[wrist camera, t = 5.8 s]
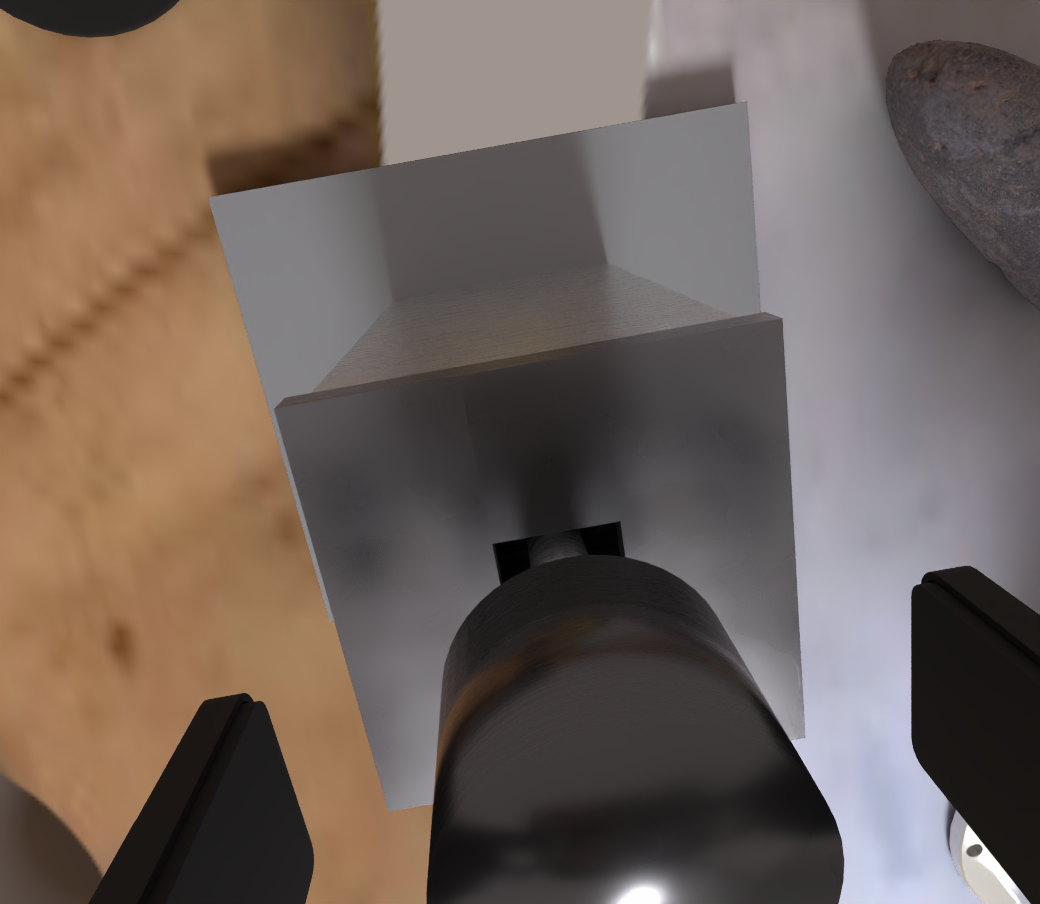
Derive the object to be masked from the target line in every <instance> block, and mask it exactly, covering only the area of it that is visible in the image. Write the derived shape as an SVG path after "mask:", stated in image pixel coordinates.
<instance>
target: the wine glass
mask: <svg viewBox="0 0 1040 904" xmlns="http://www.w3.org/2000/svg"><path fill="white" fill-rule="evenodd" d="M178 1H179V0H0V9H2V10H4V11H5V12H7V13H9V14H10V15H12V16H13V17H16V18H18V19H20V20H23V21H25V22H27V23H30V24H32V25H34V26H37V27H39V28H41V29H45V30H48V31H52V32H56V33H60V34H63V35H70V36H80V37H102V36H114V35H117V34H121V33H125V32H129V31H132V30H135V29H138V28H140V27H142V26H144V25H146V24H148V23H151V22H153V21H155V20H156V19H157V18H159V17H160V16H162V15H163V14H164V13H166V12H167V11H168V10H170V9H171V8H172V7H173V6H174V5H175V4H176V3H177V2H178Z"/></svg>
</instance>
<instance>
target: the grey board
mask: <svg viewBox="0 0 1040 904" xmlns="http://www.w3.org/2000/svg"><path fill="white" fill-rule="evenodd" d="M208 199H209V203H210V206H211V210H212V213H213V217H214V220H215V224H216V227H217V231H218V234H219V238H220V241H221V244H222V248H223V251H224V255H225V258H226V262H227V265H228V269H229V272H230V276H231V279H232V283H233V286H234V290H235V293H236V297H237V300H238V304H239V307H240V311H241V314H242V318H243V321H244V325H245V328H246V331H247V335H248V338H249V342H250V345H251V349H252V352H253V356H254V359H255V363H256V366H257V370H258V373H259V377H260V380H261V384H262V387H263V391H264V394H265V398H266V401H267V405H268V408H269V411H270V415H271V418H272V422H273V425H274V429H275V432H276V436H277V439H278V443H279V446H280V450H281V453H282V457H283V460H284V464H285V467H286V471H287V474H288V478H289V481H290V485H291V488H292V492H293V495H294V498H295V502H296V505H297V509H298V512H299V516H300V519H301V523H302V526H303V530H304V533H305V537H306V540H307V544H308V547H309V551H310V554H311V558H312V561H313V565H314V568H315V572H316V575H317V579H318V582H319V585H320V589H321V592H322V596H323V599H324V603H325V606H326V610H327V613H328V617H329V620H330V622H332V621H334V618H333V615H332V611H331V608H330V604H329V601H328V597H327V594H326V590H325V587H324V583H323V580H322V576H321V573H320V569H319V566H318V562H317V559H316V555H315V552H314V548H313V545H312V541H311V538H310V534H309V531H308V527H307V524H306V520H305V517H304V513H303V510H302V506H301V503H300V499H299V496H298V492H297V489H296V485H295V482H294V478H293V475H292V471H291V468H290V464H289V461H288V457H287V454H286V450H285V447H284V443H283V440H282V436H281V433H280V429H279V426H278V422H277V419H276V415H275V412H274V408H275V407H276V406H277V405H278V404H279V403H280V402H281V401H282V400H283V399H284V398H285V397H291V396H297V395H302V394H308V393H311V392H312V391H313V390H314V389H315V388H316V387H317V385H318V384H319V383H320V382H321V381H322V380H323V379H324V378H325V377H326V375H327V374H328V373H329V372H330V371H331V370H332V369H333V368H334V366H335V365H336V364H337V363H338V362H339V361H340V360H341V359H342V358H343V356H344V355H345V354H346V353H347V352H348V351H349V350H350V349H351V347H352V346H353V345H354V344H355V343H356V342H357V341H358V340H359V339H360V337H361V336H362V335H363V334H364V333H365V332H366V331H367V330H368V328H369V327H370V326H371V325H372V324H373V323H374V322H375V321H376V320H377V318H378V317H379V316H380V315H381V314H382V313H383V312H384V311H385V309H386V308H387V307H388V306H389V305H390V304H391V303H392V302H393V301H395V300H400V299H406V298H412V297H417V296H423V295H429V294H434V293H440V292H445V291H451V290H457V289H462V288H468V287H473V286H479V285H485V284H490V283H496V282H502V281H507V280H513V279H518V278H524V277H530V276H535V275H541V274H546V273H552V272H558V271H563V270H569V269H575V268H580V267H586V266H591V265H597V264H603V263H610V264H612V265H615V266H617V267H619V268H622V269H624V270H626V271H629V272H631V273H633V274H636V275H638V276H640V277H643V278H645V279H648V280H650V281H652V282H655V283H657V284H659V285H662V286H664V287H666V288H669V289H671V290H673V291H676V292H678V293H681V294H683V295H685V296H688V297H690V298H692V299H695V300H697V301H699V302H702V303H704V304H707V305H709V306H711V307H714V308H716V309H718V310H721V311H723V312H725V313H728V314H730V315H732V316H735V317H740V316H746V315H752V314H757V313H761V310H760V294H759V278H758V263H757V247H756V231H755V216H754V200H753V185H752V169H751V153H750V138H749V122H748V106H747V101H746V102H741V103H735V104H730V105H724V106H718V107H713V108H707V109H702V110H696V111H690V112H685V113H679V114H673V115H668V116H662V117H657V118H651V119H645V120H640V121H634V122H629V123H623V124H617V125H612V126H607V127H600V128H596V129H590V130H584V131H578V132H573V133H567V134H562V135H556V136H551V137H545V138H539V139H534V140H528V141H522V142H516V143H511V144H505V145H499V146H494V147H488V148H483V149H477V150H472V151H466V152H460V153H455V154H449V155H444V156H438V157H432V158H427V159H421V160H415V161H410V162H404V163H398V164H393V165H387V166H382V167H376V168H370V169H365V170H359V171H354V172H348V173H342V174H337V175H331V176H326V177H320V178H314V179H309V180H303V181H297V182H292V183H286V184H281V185H275V186H269V187H264V188H258V189H253V190H247V191H241V192H236V193H230V194H224V195H219V196H213V197H208Z"/></svg>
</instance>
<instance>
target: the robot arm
mask: <svg viewBox="0 0 1040 904" xmlns="http://www.w3.org/2000/svg"><path fill="white" fill-rule="evenodd" d="M911 737H912V745H913V749H914V752H915V754H916V757H917V759H918V761H919V763H920V764H921V766H922V767H923V769H924V770H925V771H926V773H927V774H928V775H929V776H930V778H931V779H932V780H933V781H934V783H935V784H936V785H937V786H938V788H939V789H940V790H941V791H942V793H943V794H944V795H945V796H946V798H947V799H948V800H949V801H950V803H951V804H952V805H953V807H954V808H955V809H956V811H955V814H954V818H953V821H952V824H951V830H950V842H949V845H950V851H951V856H952V861H953V863H954V865H955V867H956V869H957V872H958V874H959V875H960V877H961V878H962V879H963V881H964V882H965V883H966V885H967V886H968V887H969V889H970V890H971V892H972V893H973V894H974V895H975V896H976V897H977V898H978V899H979V900H980V901H982V902H983V903H984V904H1040V615H1039V614H1037V613H1036V612H1035V611H1033V610H1032V609H1031V608H1029V607H1028V606H1026V605H1025V604H1024V603H1022V602H1021V601H1019V600H1018V599H1017V598H1015V597H1014V596H1013V595H1011V594H1010V593H1008V592H1007V591H1006V590H1004V589H1003V588H1002V587H1000V586H999V585H997V584H996V583H995V582H993V581H992V580H991V579H989V578H988V577H986V576H985V575H984V574H982V573H981V572H979V571H978V570H977V569H975V568H973V567H971V566H961V567H956V568H950V569H944V570H939V571H933V572H928V573H926V574H925V575H924V576H923V578H922V581H921V584H919V585H916V586H914V588H913V590H912V596H911ZM313 867H314V854H313V847H312V843H311V840H310V837H309V834H308V831H307V828H306V825H305V822H304V819H303V816H302V813H301V810H300V807H299V804H298V801H297V798H296V795H295V792H294V789H293V786H292V783H291V780H290V777H289V774H288V771H287V768H286V765H285V761H284V758H283V755H282V752H281V749H280V746H279V743H278V740H277V737H276V734H275V731H274V728H273V725H272V722H271V719H270V716H269V713H268V710H267V708H266V706H265V704H264V703H263V702H262V701H256V702H253V699H252V698H251V697H250V695H249V694H246V693H242V694H236V695H231V696H225V697H219V698H214V699H208V700H206V701H204V702H203V703H202V704H201V706H200V707H199V709H198V711H197V712H196V714H195V716H194V718H193V720H192V721H191V723H190V725H189V727H188V729H187V730H186V732H185V734H184V736H183V737H182V739H181V741H180V743H179V745H178V746H177V748H176V750H175V752H174V754H173V755H172V757H171V759H170V761H169V762H168V764H167V766H166V768H165V770H164V771H163V773H162V775H161V777H160V778H159V780H158V782H157V784H156V786H155V787H154V789H153V791H152V793H151V795H150V796H149V798H148V800H147V802H146V803H145V805H144V807H143V809H142V811H141V812H140V814H139V816H138V818H137V819H136V821H135V822H134V824H133V825H132V827H131V829H130V831H129V833H128V834H127V836H126V838H125V840H124V841H123V843H122V845H121V847H120V849H119V850H118V852H117V854H116V856H115V858H114V859H113V861H112V863H111V865H110V866H109V868H108V870H107V872H106V874H105V875H104V877H103V879H102V881H101V882H100V884H99V886H98V888H97V890H96V891H95V893H94V895H93V897H92V898H91V900H90V902H89V904H305V903H306V899H307V895H308V891H309V887H310V883H311V879H312V874H313Z"/></svg>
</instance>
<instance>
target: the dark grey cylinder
mask: <svg viewBox="0 0 1040 904" xmlns="http://www.w3.org/2000/svg"><path fill="white" fill-rule="evenodd" d="M526 540H527V547H528V554H529V561H530V567H531V568H530V569H528V570H526V571H524V572H522V573H520V574H518V575H516V576H514V577H512V578H510V579H509V580H507V581H506V582H504V583H503V584H501V585H500V586H498V587H497V588H495V589H494V590H493V591H492V592H491V593H489V594H488V595H487V596H486V597H485V598H484V599H483V600H481V601H480V602H479V603H478V605H477V606H476V607H475V608H474V609H473V610H472V611H471V612H470V614H469V615H468V616H467V617H466V619H465V620H464V622H463V623H462V625H461V626H460V628H459V629H458V631H457V633H456V635H455V637H454V639H453V641H452V643H451V646H450V648H449V651H448V654H447V658H446V661H445V665H444V671H443V678H442V690H441V703H440V717H439V730H438V744H437V758H436V771H435V785H434V798H433V812H432V826H431V839H430V853H429V866H428V880H427V904H838V903H839V899H840V894H841V889H842V885H843V874H844V856H843V847H842V840H841V836H840V833H839V830H838V827H837V823H836V820H835V818H834V816H833V814H832V812H831V810H830V808H829V806H828V804H827V802H826V800H825V799H824V797H823V795H822V794H821V792H820V790H819V789H818V787H817V785H816V783H815V782H814V780H813V778H812V777H811V775H810V773H809V771H808V770H807V768H806V766H805V765H804V763H803V761H802V760H801V758H800V756H799V754H798V753H797V751H796V749H795V748H794V746H793V744H792V743H791V741H790V739H789V737H788V736H787V734H786V732H785V731H784V729H783V727H782V726H781V724H780V722H779V720H778V719H777V717H776V715H775V714H774V712H773V710H772V709H771V707H770V705H769V703H768V702H767V700H766V698H765V697H764V695H763V693H762V691H761V690H760V688H759V686H758V685H757V683H756V681H755V680H754V678H753V676H752V674H751V673H750V671H749V669H748V668H747V666H746V664H745V663H744V661H743V659H742V657H741V656H740V654H739V652H738V651H737V649H736V647H735V646H734V644H733V642H732V640H731V639H730V637H729V635H728V634H727V632H726V630H725V629H724V627H723V625H722V623H721V622H720V620H719V618H718V617H717V615H716V614H715V612H714V611H713V609H712V608H711V607H710V605H709V604H708V603H707V601H706V600H705V599H704V598H703V597H702V596H701V595H700V594H699V593H698V592H697V591H696V590H695V589H694V588H692V587H691V586H690V585H688V584H687V583H686V582H684V581H683V580H682V579H680V578H679V577H677V576H675V575H673V574H672V573H670V572H668V571H666V570H664V569H662V568H660V567H657V566H654V565H652V564H649V563H647V562H643V561H639V560H635V559H631V558H627V557H620V556H611V555H588V553H587V550H586V547H585V544H584V540H583V537H582V534H581V531H580V528H579V529H574V530H568V531H562V532H557V533H551V534H545V535H540V536H534V537H529V538H526Z"/></svg>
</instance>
